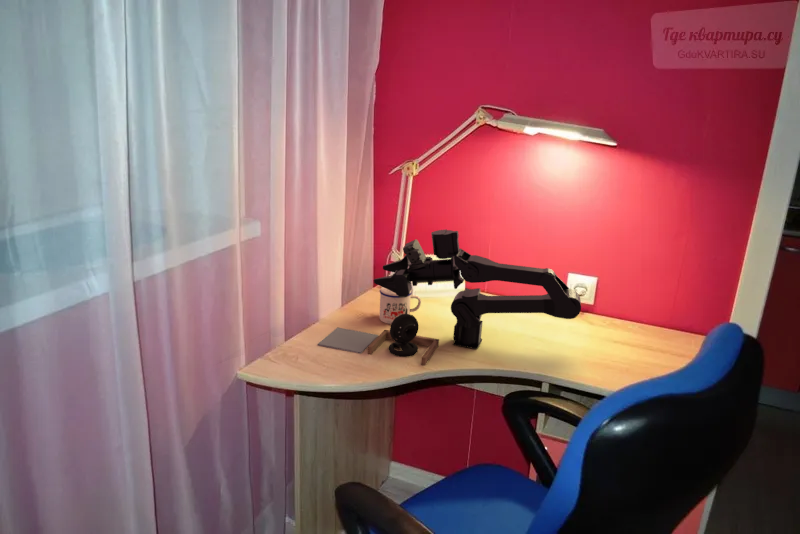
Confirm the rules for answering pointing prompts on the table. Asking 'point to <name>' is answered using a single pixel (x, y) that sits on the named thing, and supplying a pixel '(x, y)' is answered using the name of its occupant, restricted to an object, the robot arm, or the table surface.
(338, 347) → the mat
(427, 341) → the holder
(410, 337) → the webcam
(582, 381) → the table surface
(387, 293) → the teacup with lid
